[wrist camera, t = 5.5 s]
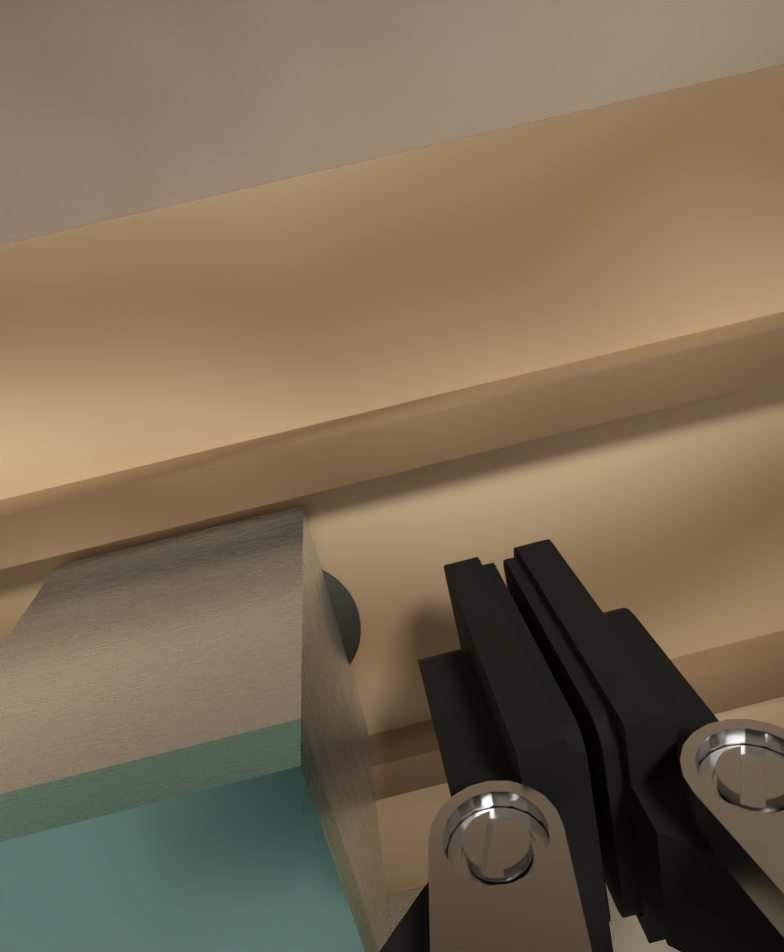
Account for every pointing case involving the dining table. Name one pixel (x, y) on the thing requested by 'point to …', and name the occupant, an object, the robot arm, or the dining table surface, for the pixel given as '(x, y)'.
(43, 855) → the block
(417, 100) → the dining table surface
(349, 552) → the gauge board
